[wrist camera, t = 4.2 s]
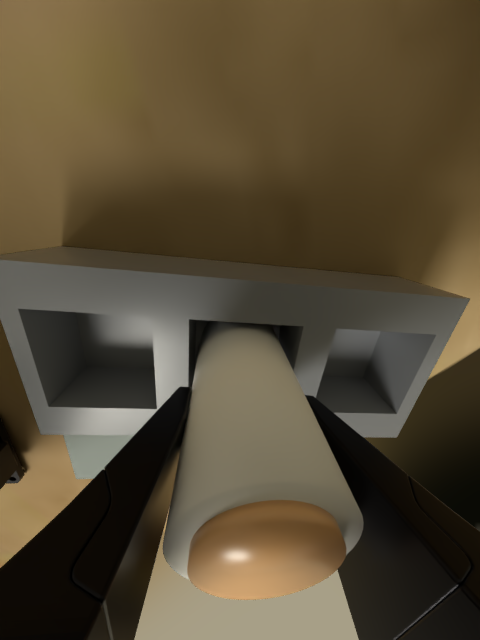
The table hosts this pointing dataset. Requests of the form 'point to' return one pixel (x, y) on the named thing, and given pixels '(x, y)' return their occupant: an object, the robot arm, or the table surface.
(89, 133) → the table surface
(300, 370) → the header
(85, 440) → the mat
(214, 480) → the plug
